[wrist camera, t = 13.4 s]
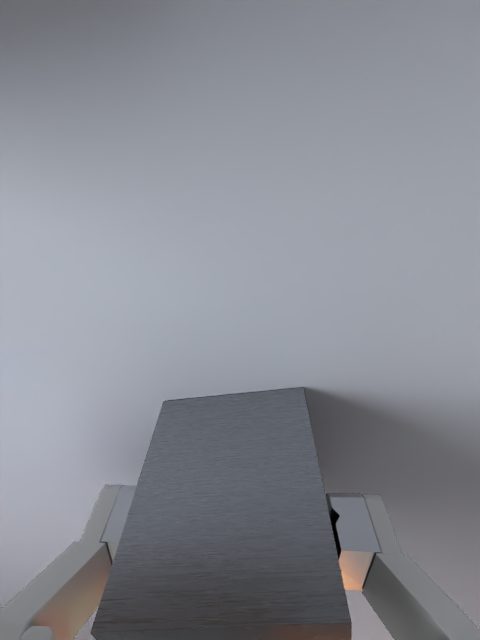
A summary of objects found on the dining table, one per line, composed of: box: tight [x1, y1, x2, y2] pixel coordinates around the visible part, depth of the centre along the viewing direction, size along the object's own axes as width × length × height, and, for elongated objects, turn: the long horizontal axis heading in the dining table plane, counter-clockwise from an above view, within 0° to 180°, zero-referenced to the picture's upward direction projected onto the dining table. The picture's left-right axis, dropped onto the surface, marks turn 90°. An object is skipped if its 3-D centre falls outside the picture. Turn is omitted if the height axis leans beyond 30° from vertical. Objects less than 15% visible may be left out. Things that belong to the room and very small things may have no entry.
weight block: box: [91, 388, 351, 640], centre depth 10 cm, size 4×4×6 cm
